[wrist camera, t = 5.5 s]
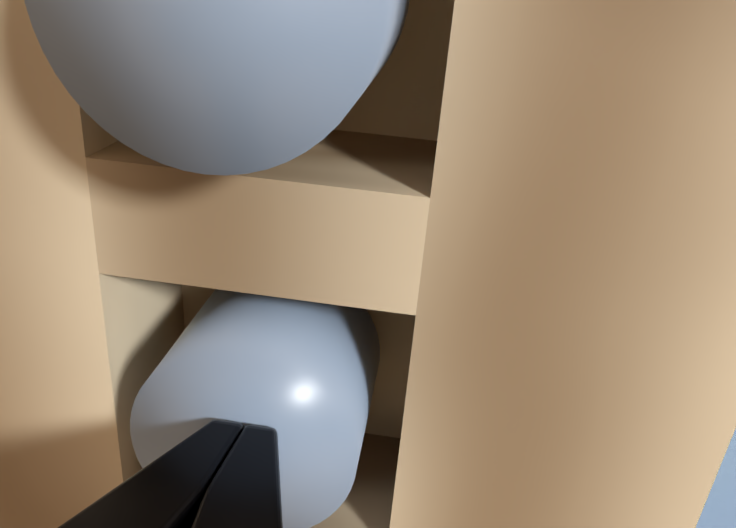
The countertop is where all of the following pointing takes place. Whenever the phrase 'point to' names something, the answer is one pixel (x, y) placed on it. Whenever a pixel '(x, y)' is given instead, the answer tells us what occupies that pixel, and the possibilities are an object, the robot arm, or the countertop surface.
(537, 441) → the button board
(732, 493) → the countertop surface
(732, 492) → the countertop surface
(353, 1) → the button middle
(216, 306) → the button
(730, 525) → the countertop surface
